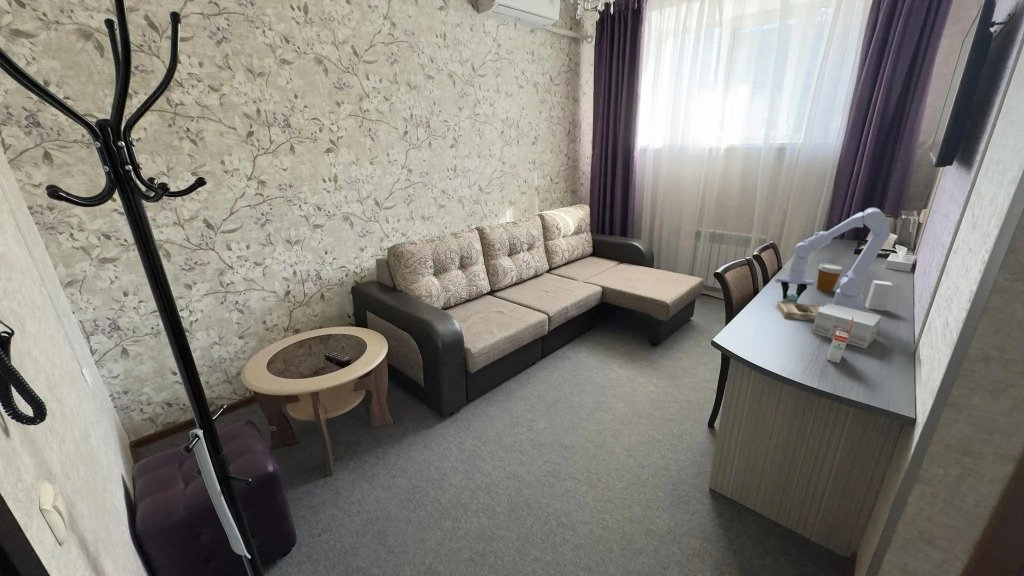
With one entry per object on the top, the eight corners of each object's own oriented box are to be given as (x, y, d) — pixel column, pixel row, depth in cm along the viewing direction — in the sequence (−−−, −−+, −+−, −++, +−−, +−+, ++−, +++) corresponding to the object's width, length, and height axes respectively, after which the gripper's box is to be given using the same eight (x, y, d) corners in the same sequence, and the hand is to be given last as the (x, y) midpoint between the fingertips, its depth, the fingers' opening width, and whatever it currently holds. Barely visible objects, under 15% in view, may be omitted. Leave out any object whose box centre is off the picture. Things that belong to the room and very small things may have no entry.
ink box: (826, 360, 139) (838, 321, 134) (828, 351, 145) (840, 313, 140) (839, 363, 137) (853, 324, 132) (841, 354, 143) (854, 316, 138)
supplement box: (874, 338, 154) (883, 315, 151) (865, 349, 146) (874, 325, 143) (821, 323, 166) (828, 301, 163) (810, 332, 159) (817, 310, 155)
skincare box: (881, 307, 181) (890, 282, 176) (884, 311, 177) (894, 285, 173) (864, 305, 183) (872, 279, 179) (867, 308, 179) (875, 283, 175)
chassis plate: (819, 311, 177) (820, 305, 176) (829, 323, 166) (831, 316, 165) (776, 306, 181) (778, 300, 180) (783, 317, 171) (785, 311, 170)
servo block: (791, 299, 188) (793, 289, 186) (797, 306, 180) (799, 296, 178) (781, 297, 189) (783, 288, 188) (786, 305, 181) (789, 295, 180)
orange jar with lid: (815, 291, 198) (822, 267, 194) (810, 285, 206) (816, 262, 202) (839, 294, 195) (846, 270, 191) (833, 287, 203) (840, 264, 199)
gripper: (814, 268, 181) (806, 297, 185) (776, 265, 185) (769, 293, 190) (819, 273, 174) (811, 303, 179) (780, 270, 179) (773, 299, 184)
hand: (790, 298), depth 184 cm, fingers closed on servo block, 4 cm apart
